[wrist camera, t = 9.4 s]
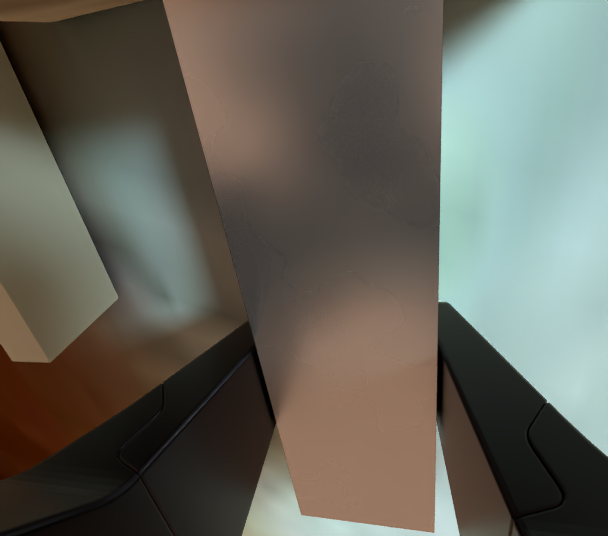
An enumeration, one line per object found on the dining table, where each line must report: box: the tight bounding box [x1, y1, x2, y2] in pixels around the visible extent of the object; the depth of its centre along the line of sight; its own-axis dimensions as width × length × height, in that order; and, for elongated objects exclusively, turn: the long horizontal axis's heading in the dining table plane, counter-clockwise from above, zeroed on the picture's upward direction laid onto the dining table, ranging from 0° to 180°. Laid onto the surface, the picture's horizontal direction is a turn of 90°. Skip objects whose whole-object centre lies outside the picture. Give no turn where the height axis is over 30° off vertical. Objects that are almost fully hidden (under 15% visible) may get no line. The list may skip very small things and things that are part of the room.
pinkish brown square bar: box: [163, 0, 443, 533], centre depth 7 cm, size 18×3×3 cm, turn 9°
